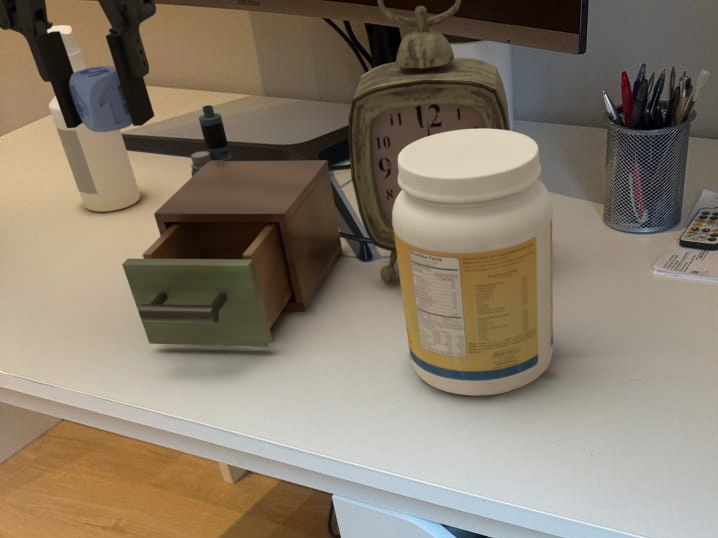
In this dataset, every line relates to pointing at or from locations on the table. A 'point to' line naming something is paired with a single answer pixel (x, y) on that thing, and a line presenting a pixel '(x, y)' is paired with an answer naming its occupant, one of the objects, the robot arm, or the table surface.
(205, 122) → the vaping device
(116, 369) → the table surface
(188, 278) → the drawer
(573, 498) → the table surface
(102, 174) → the spray bottle
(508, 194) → the supplement tub
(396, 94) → the tabletop clock
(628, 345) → the table surface
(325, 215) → the cabinet
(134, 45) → the robot arm
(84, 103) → the decorative dice
